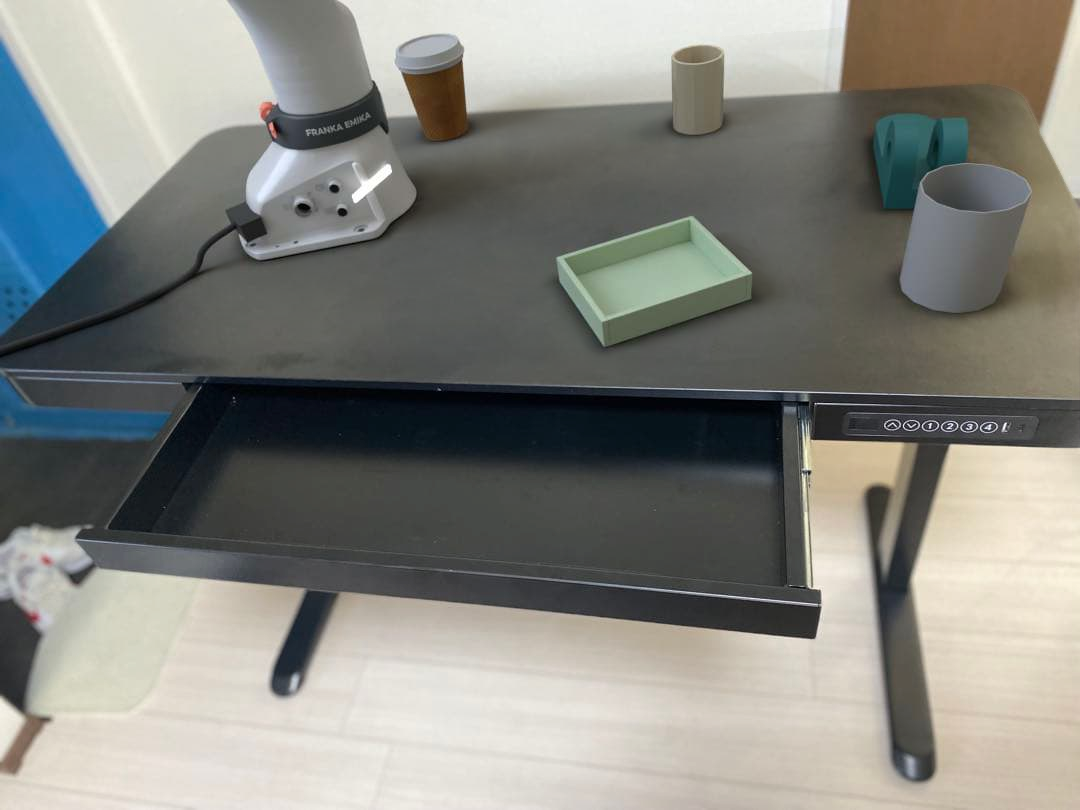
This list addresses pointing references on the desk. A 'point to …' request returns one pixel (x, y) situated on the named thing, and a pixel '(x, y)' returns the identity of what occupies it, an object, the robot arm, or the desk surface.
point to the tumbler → (697, 89)
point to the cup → (963, 236)
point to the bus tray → (653, 280)
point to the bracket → (915, 153)
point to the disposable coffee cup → (435, 83)
